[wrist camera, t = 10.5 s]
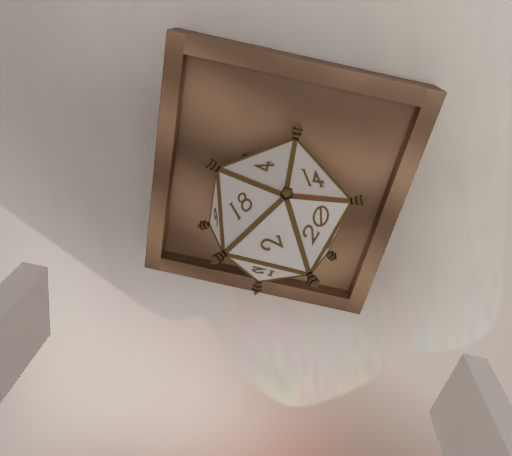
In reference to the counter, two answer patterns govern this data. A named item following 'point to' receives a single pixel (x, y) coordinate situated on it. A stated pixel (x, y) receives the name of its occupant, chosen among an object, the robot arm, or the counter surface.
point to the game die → (276, 212)
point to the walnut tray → (271, 133)
